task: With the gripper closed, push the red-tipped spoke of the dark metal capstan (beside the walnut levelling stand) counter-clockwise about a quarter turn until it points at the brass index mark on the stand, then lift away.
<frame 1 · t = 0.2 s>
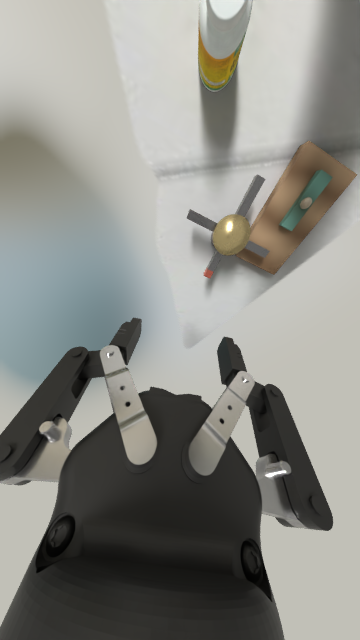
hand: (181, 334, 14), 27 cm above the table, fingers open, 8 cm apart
supplement bottle: (217, 61, 21), on the table
stand: (281, 221, 30), on the table
capstan: (227, 234, 29), point 4 cm above the table, hinge at 0.0°
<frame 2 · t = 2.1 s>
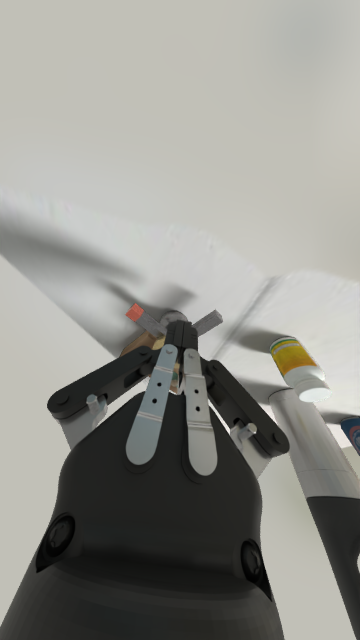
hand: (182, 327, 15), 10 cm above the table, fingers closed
supplement bottle: (283, 345, 29), on the table
soda can: (351, 420, 43), on the table
stand: (167, 361, 35), on the table
capstan: (175, 338, 25), point 4 cm above the table, hinge at 0.0°
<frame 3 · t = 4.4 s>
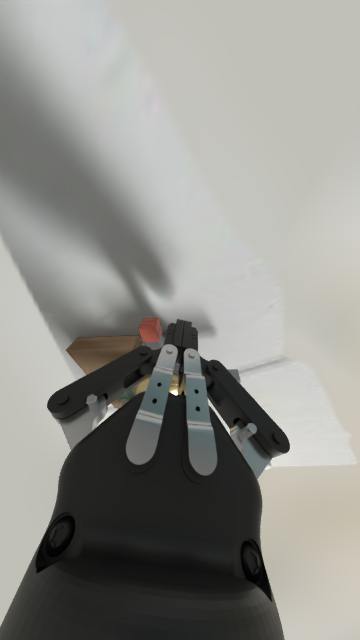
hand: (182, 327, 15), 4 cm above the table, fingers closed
stand: (127, 372, 27), on the table
capstan: (168, 369, 19), point 4 cm above the table, hinge at 0.4°, touching gripper
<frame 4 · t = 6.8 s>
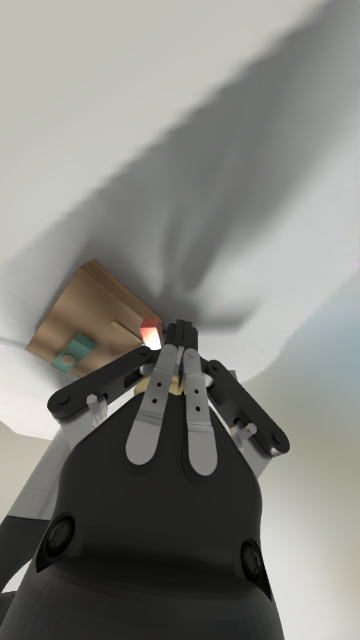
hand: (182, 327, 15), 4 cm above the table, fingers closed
stand: (95, 329, 21), on the table
capstan: (166, 369, 20), point 4 cm above the table, hinge at 53.7°, touching gripper
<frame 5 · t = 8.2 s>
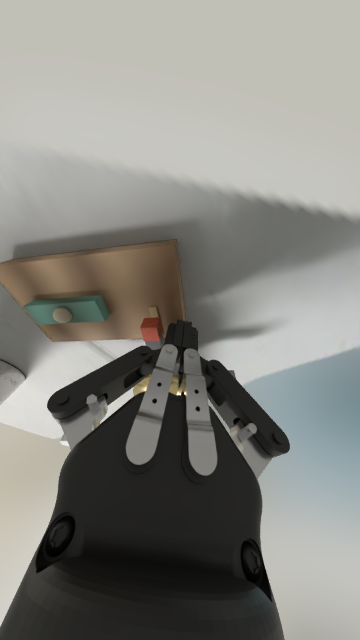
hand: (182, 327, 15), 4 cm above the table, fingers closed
stand: (107, 294, 18), on the table
capstan: (165, 368, 20), point 4 cm above the table, hinge at 88.1°, touching gripper
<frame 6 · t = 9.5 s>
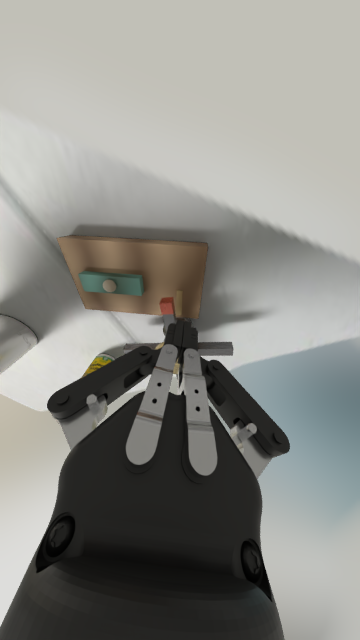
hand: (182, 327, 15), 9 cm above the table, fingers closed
supplement bottle: (107, 359, 36), on the table
stand: (141, 276, 22), on the table
capstan: (176, 343, 24), point 4 cm above the table, hinge at 99.2°
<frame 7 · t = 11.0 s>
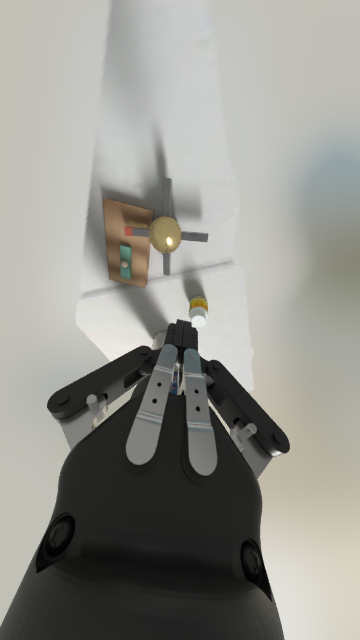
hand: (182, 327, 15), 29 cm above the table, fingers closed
supplement bottle: (198, 302, 46), on the table
soda can: (177, 374, 71), on the table
stand: (130, 247, 38), on the table
capstan: (167, 233, 32), point 4 cm above the table, hinge at 99.2°
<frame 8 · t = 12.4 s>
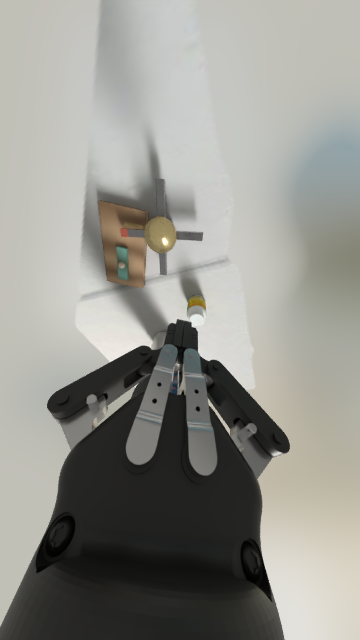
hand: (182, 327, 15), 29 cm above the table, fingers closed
supplement bottle: (196, 301, 47), on the table
soda can: (178, 375, 71), on the table
stand: (127, 249, 39), on the table
capstan: (162, 233, 33), point 4 cm above the table, hinge at 99.2°
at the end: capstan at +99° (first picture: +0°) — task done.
